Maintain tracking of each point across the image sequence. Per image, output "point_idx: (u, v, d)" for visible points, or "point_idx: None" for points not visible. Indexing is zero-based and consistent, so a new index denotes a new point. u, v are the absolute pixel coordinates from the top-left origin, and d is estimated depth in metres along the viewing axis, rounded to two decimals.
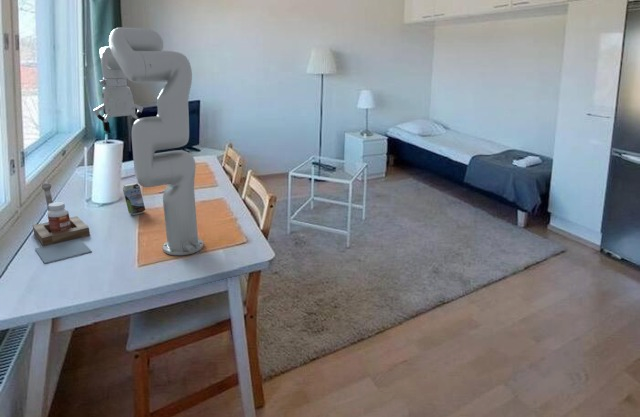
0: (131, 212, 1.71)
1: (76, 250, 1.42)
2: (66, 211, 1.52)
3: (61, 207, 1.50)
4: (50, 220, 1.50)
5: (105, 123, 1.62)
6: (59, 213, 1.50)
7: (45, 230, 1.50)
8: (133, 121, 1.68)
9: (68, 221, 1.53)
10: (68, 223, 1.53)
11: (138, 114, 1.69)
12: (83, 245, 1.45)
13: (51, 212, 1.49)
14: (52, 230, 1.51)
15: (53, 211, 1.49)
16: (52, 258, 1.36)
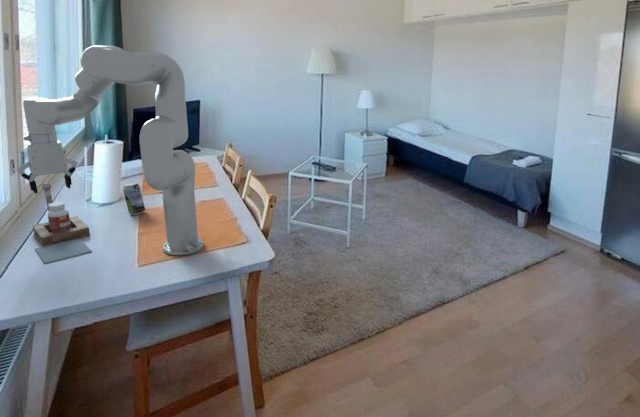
0: (131, 212, 1.71)
1: (76, 250, 1.42)
2: (66, 211, 1.52)
3: (61, 207, 1.50)
4: (50, 220, 1.50)
5: (31, 182, 1.44)
6: (59, 213, 1.50)
7: (45, 230, 1.50)
8: (66, 178, 1.50)
9: (68, 221, 1.53)
10: (68, 223, 1.53)
11: (72, 170, 1.51)
12: (83, 245, 1.45)
13: (51, 212, 1.49)
14: (52, 230, 1.51)
15: (53, 211, 1.49)
16: (52, 258, 1.36)
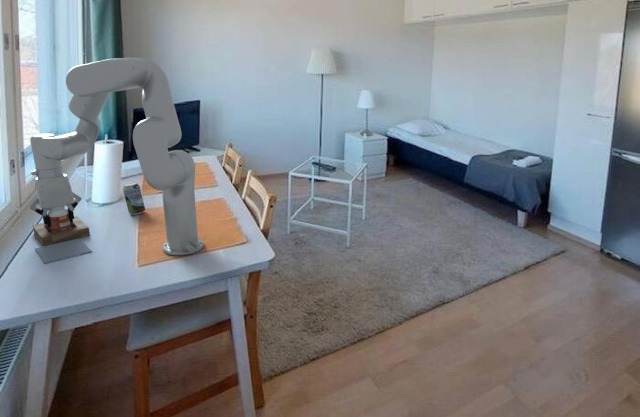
0: (131, 212, 1.71)
1: (76, 250, 1.42)
2: (66, 211, 1.52)
3: (61, 207, 1.50)
4: (50, 220, 1.50)
5: (44, 217, 1.49)
6: (59, 213, 1.50)
7: (45, 230, 1.50)
8: None
9: (68, 221, 1.53)
10: (68, 223, 1.53)
11: (74, 205, 1.54)
12: (83, 245, 1.45)
13: (51, 212, 1.49)
14: (52, 230, 1.51)
15: (53, 211, 1.49)
16: (52, 258, 1.36)
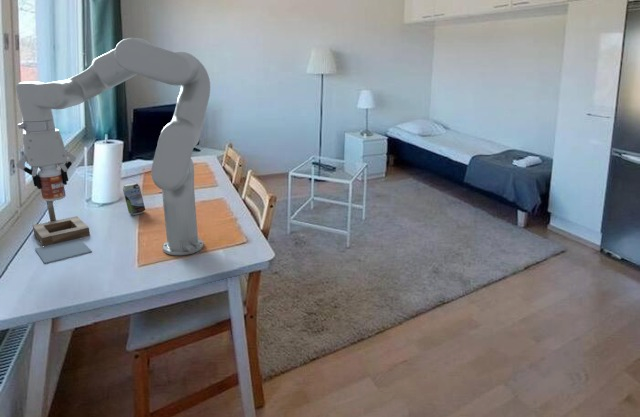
0: (131, 212, 1.71)
1: (76, 250, 1.42)
2: (58, 171, 1.35)
3: (53, 166, 1.34)
4: (40, 181, 1.33)
5: (34, 177, 1.32)
6: (51, 173, 1.33)
7: (45, 230, 1.50)
8: None
9: (61, 183, 1.36)
10: (61, 185, 1.36)
11: (68, 165, 1.37)
12: (83, 245, 1.45)
13: (41, 172, 1.33)
14: (43, 192, 1.34)
15: (44, 170, 1.33)
16: (52, 258, 1.36)
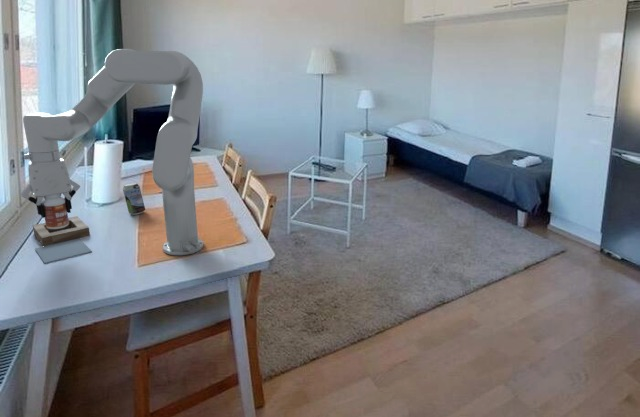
0: (131, 212, 1.71)
1: (76, 250, 1.42)
2: (63, 200, 1.37)
3: (57, 195, 1.35)
4: (45, 209, 1.35)
5: (38, 206, 1.34)
6: (55, 202, 1.35)
7: (45, 230, 1.50)
8: (65, 202, 1.38)
9: (65, 211, 1.38)
10: (65, 213, 1.38)
11: (72, 193, 1.39)
12: (83, 245, 1.45)
13: (46, 201, 1.34)
14: (47, 221, 1.36)
15: (48, 199, 1.34)
16: (52, 258, 1.36)
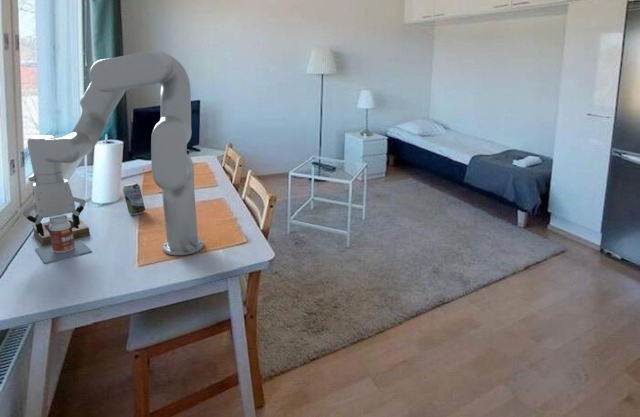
0: (131, 212, 1.71)
1: (76, 250, 1.42)
2: (69, 224, 1.40)
3: (63, 220, 1.38)
4: (51, 234, 1.38)
5: (37, 225, 1.35)
6: (61, 226, 1.38)
7: (45, 230, 1.50)
8: (74, 218, 1.41)
9: (71, 235, 1.41)
10: (71, 237, 1.41)
11: (80, 209, 1.42)
12: (83, 245, 1.45)
13: (52, 225, 1.37)
14: (53, 245, 1.39)
15: (54, 224, 1.37)
16: (52, 258, 1.36)
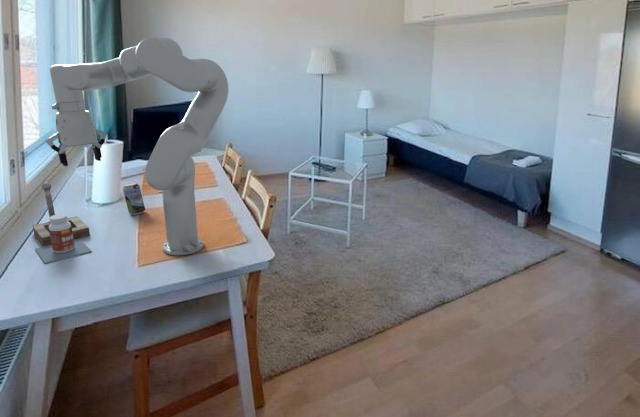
0: (131, 212, 1.71)
1: (76, 250, 1.42)
2: (69, 224, 1.40)
3: (63, 220, 1.38)
4: (51, 234, 1.38)
5: (61, 154, 1.37)
6: (61, 226, 1.38)
7: (45, 230, 1.50)
8: (95, 150, 1.43)
9: (71, 235, 1.41)
10: (71, 237, 1.41)
11: (101, 142, 1.44)
12: (83, 245, 1.45)
13: (52, 225, 1.37)
14: (53, 245, 1.39)
15: (54, 224, 1.37)
16: (52, 258, 1.36)
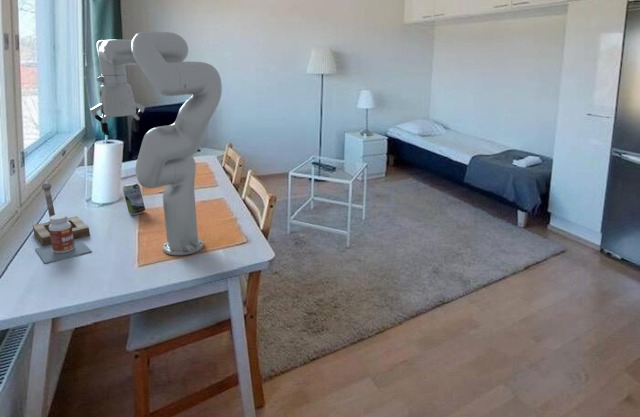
0: (131, 212, 1.71)
1: (76, 250, 1.42)
2: (69, 224, 1.40)
3: (63, 220, 1.38)
4: (51, 234, 1.38)
5: (103, 124, 1.48)
6: (61, 226, 1.38)
7: (45, 230, 1.50)
8: (134, 122, 1.54)
9: (71, 235, 1.41)
10: (71, 237, 1.41)
11: (139, 114, 1.54)
12: (83, 245, 1.45)
13: (52, 225, 1.37)
14: (53, 245, 1.39)
15: (55, 224, 1.37)
16: (52, 258, 1.36)
